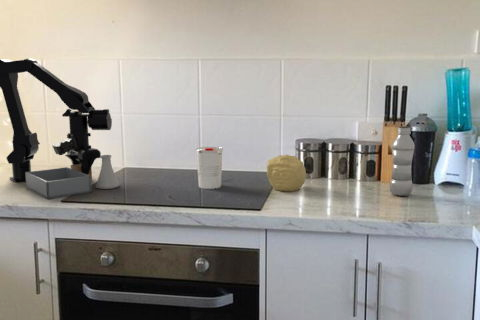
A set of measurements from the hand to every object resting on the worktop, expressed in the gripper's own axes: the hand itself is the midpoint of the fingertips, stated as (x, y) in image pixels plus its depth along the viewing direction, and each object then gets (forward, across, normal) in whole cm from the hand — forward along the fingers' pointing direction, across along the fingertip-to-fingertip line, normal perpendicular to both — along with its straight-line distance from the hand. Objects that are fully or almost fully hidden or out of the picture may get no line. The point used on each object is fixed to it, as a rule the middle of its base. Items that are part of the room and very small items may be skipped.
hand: (81, 176), depth 176 cm
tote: (+1, +10, -12) cm, 15 cm away
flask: (+1, +15, +2) cm, 15 cm away
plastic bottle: (+1, +80, +63) cm, 102 cm away
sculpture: (+1, +53, +43) cm, 68 cm away
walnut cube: (+1, 0, 0) cm, 1 cm away
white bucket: (+1, +35, +27) cm, 44 cm away
